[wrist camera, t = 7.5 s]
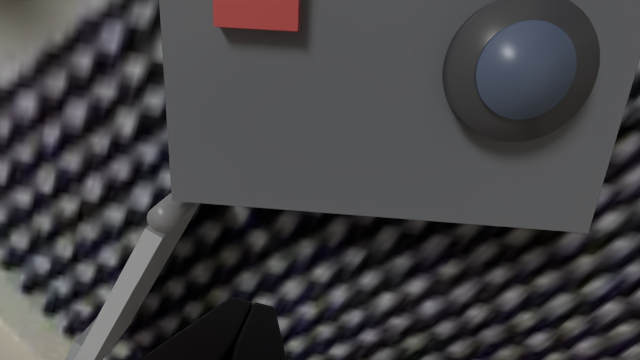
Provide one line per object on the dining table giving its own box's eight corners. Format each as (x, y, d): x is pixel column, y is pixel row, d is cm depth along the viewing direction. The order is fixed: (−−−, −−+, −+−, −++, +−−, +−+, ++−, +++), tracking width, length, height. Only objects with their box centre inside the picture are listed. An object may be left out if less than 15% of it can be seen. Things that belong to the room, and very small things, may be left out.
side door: (131, 327, 22) (75, 400, 17) (106, 314, 21) (42, 383, 17) (219, 176, 19) (179, 216, 14) (191, 159, 18) (141, 194, 14)
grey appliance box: (575, -41, 15) (714, -95, 9) (523, 188, 18) (605, 252, 12) (211, -59, 16) (133, -120, 10) (216, 165, 19) (159, 217, 13)
